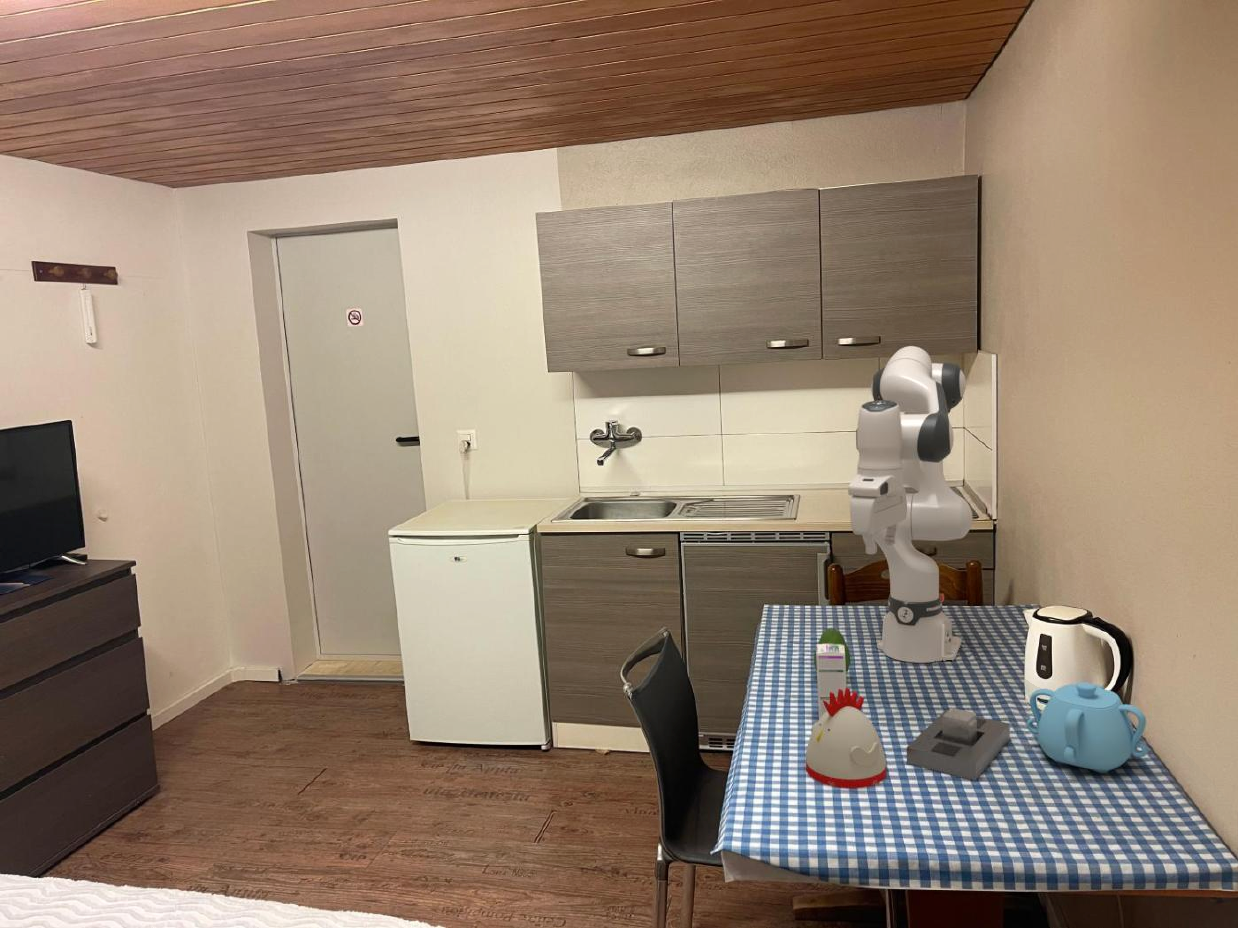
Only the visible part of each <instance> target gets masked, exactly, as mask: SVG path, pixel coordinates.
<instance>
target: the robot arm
mask: <svg viewBox="0 0 1238 928" xmlns="http://www.w3.org/2000/svg"><path fill="white" fill-rule="evenodd" d="M872 378H873V379H872V381H871V385H870V388H871V389H870V391H871V396H872V398H873V401H867V402H865V403H862V404H861V406H860V407H859V412H858V418H857V420H858V421H857V427H856V431H855V441H856V443H855V444H856V446H855V448H856V450H857V451H858V462H857V470H856V471H857V472H856V473H857V474H855V477H854V478H853V480H852V481H851V482H850V483H849V484H848V486H847V493H848V496H851V498H850V500H849V501H850V502H849V512H850V513H849V514H850V515H849V516H850V528H851V530H852V532H853V533H854V535H858V536H859V535H861V536H862V539H863V543H864V545H865V553H866V555H875V554H877V552H878V546H879V548H880V549H881V551H882V552H883V554H884V556H885V559H886V561H887V565H888V571H889V583H890V584H889V585H890V587H889V588H890V591H889V592H890V594H889V595H888V601H887V605H888V612H887V613H886V614H885V615H884V616H883V620H882V623H883V624H882V635H881V637H882V638H881V641H879V642H877V644H876V648H877V649H879V650H880V651H882V652H883V653H884V655H885V656H887V657H889V658H892V659H894V660H897V661H900V662H907V663H916V664H917V663H918V664H919V663H921V664H922V663H925V664H926V663H934V662H935V661H936V662H942V660H943V662H945V661H946V660H952V661H955V660H956V657H957V655H958V653H959V651H960V649H959V648H961V646H962V644H961V642H962V643H963V641H962V638H961V637H958V636H955V635H953V624H952V623H953V622H952V620H951V619H950V618H949V617H948V616H947V615H946V614H945V613H944V612H943V602H944V601H945V594H944V593H940V579H939V577H940V573H939V572H940V571H939V566H938V564H937V562H936V561H935V560H934V559H933V558H932V557H930V556H929V555H926V554H924V553H923V552H920V551H919V550H917V549H916V548H915V546H914V544H913V543H912V541H931V542H933V541H934V542H944V541H953V540H954V541H955V540H958V539H963V538H964V537H966V535H967V534H968V533H969V532H970V529H971V528H972V524H973V511H972V508H971V507H970V504H969V503H968V502H967V501H966V499H964V498H963V497H962V496H960V495H959V494H957V493H956V492H955V491H954V490H953V489H952V488H951V487H950V485H949V484H948V482H947V480H946V478H945V475H944V463H943V462H944V459H946V458H947V457H948V456H949V455H950V454H951V452H952V450H953V447H954V430H953V427H952V424H951V422H950V419H949V414H950V413H951V410H952V409H954V408H956V407H957V406H958V405H959V404H960V403H961V402H962V399H964V395H965V392H966V388H967V381H966V376H965V374H964V372H963V369H962V367H961V366H960V365H959V364H957V363H953V362H946V361H945V362H943V363H937V362H932V359H931V357H930V355H929V353H928V352H927V351H925V350H924V349H923V348H921V347H919V346H913V345H909V346H905V347H901V348H900V349H898V350H897V351H896V352H895V353H894V354H893V355H892V356H891V357H890V359H889V360H888V362H887V363H886V365H885V366H883V368H880V369H878V370H877V371H876V372H875V374H874V375H873V377H872ZM902 413H903V414H902ZM904 485H906V486H907V487H910V488H912V489H914V490H915V491H917V492H915V493H907V491H906V488H905V486H904ZM960 645H961V646H960ZM958 650H959V651H958ZM957 652H958V653H957ZM954 659H955V660H954ZM946 662H947V661H946Z"/></svg>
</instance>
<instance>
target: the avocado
mask: <svg viewBox="0 0 1238 928" xmlns="http://www.w3.org/2000/svg"><path fill="white" fill-rule="evenodd" d="M817 644H843V645H844V647H845V660H846V674H847V673H848V672H849V669H850V665H851V654H850V649H849V647H848V645H847V642H846V640H845V637H844V636H843V634H842V633H841V632H840V631H839V630H837V629H835V628H831V627H830V628H827V629H825V630H824V631H823V632H822V634H821V636H820V638H819V639H818V642H817ZM816 648H817V646H816V647H815V650H814V654H813V655H814V656H813V664H814V668H815V670H816V672H817V660H816Z"/></svg>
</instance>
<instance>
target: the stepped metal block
mask: <svg viewBox="0 0 1238 928" xmlns="http://www.w3.org/2000/svg"><path fill="white" fill-rule="evenodd" d="M976 717H977V712H973V711H969V710H965V709H964V710H963V709H958V708H954V707H951V708H949V709H948V710H947V712H946V713H945V714H944V715H943V719H942V740H946V741H950V742H954V743H959V744H963V745H968V746H972V747H973V746H974V745H975V744H976V743H977V720H976Z"/></svg>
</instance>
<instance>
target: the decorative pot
mask: <svg viewBox="0 0 1238 928" xmlns="http://www.w3.org/2000/svg"><path fill="white" fill-rule="evenodd" d="M1038 696H1047V697H1050V698H1049V699H1048V701H1047V703H1046V705H1045V707H1044V708H1043V710H1042V713H1040V710H1039V707H1038V704H1037V697H1038ZM1029 706H1030V709H1031V710H1030V711H1031V712H1032V714H1033V717H1031V718H1029V719H1028V720H1027V723H1026V727H1027V729H1028V731H1029V732H1031V733H1033V734H1035V735H1037V741H1038V743H1039V745H1040V748H1041V749H1042V751H1043V752H1044V753H1045V755H1047V756H1048V757H1049V758H1050V759H1052V760H1053V762H1056V763H1059V764H1067V765H1069V766H1074V767H1078V768H1082V769H1083V768H1084V769H1088V770H1092V771H1094V772H1096V773H1101V774H1107V773H1109V771H1110V770H1111V771H1112V770H1114V769H1117V768H1119V767H1121V766H1122V765H1123V764H1124V763H1126V762H1127V761H1128V759H1129V758H1130V757H1131V756H1133V757H1137V758H1142V757H1145V756H1147V755H1148V753H1149V748H1148V746H1147V744H1146V743H1145V742H1143V741H1140V739H1141V738H1142V736H1143V733H1144V731H1145V729H1146V725H1147V718H1146V715H1145V714H1144V713H1143V711H1141V709H1139V708H1138V707H1136V706H1134V705H1131V704H1123V702H1122V700H1121V698H1120V696H1119V695H1118V694H1117V693H1116V692H1114V691H1111V690H1109V689H1106V688H1105V687H1104V686H1102V685H1100V684H1094V683H1091V682H1085V681H1080V682H1077V683H1076V684H1072V683H1071V684H1070V683H1069V684H1066V685H1063V686H1060V687H1059V688H1057V689H1056V690H1054V691H1053V690H1052V689H1048V688H1039V689H1035V690H1034V691H1033V692H1032V693H1031V695H1030V696H1029ZM1128 712H1129V713H1131V714H1133V715H1134V716H1136V718H1137V720H1138V725H1137V728H1136V731H1135V733H1134V729H1133V726H1132V722H1131V719H1130V717H1129V713H1128ZM1033 723H1036V726H1037V727H1036V726H1034V724H1033ZM1137 747H1140V748H1141V750H1139V749H1138V748H1137Z"/></svg>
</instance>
